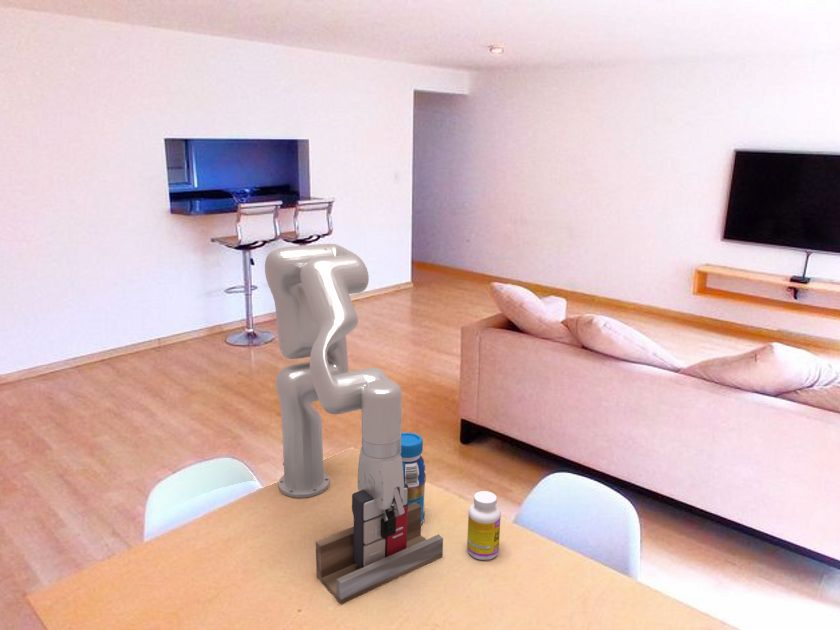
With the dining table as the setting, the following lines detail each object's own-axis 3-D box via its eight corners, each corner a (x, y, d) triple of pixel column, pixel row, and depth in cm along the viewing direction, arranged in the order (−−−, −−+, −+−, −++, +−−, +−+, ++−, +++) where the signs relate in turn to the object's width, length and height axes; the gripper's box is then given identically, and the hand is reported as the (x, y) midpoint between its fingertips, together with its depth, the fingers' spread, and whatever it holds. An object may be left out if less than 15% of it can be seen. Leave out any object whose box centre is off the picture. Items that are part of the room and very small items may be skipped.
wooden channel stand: (316, 577, 124) (315, 541, 122) (415, 534, 138) (415, 502, 136) (341, 604, 117) (340, 566, 115) (442, 556, 131) (443, 522, 129)
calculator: (363, 571, 122) (363, 503, 118) (351, 559, 125) (351, 493, 121) (409, 551, 129) (411, 485, 124) (396, 540, 132) (398, 476, 128)
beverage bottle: (381, 524, 142) (381, 442, 136) (397, 505, 149) (397, 427, 144) (416, 533, 138) (417, 450, 133) (430, 513, 146) (432, 434, 141)
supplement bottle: (497, 563, 129) (500, 507, 125) (464, 559, 130) (467, 503, 127) (499, 544, 135) (502, 490, 132) (469, 540, 136) (471, 486, 133)
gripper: (342, 434, 125) (343, 516, 129) (389, 468, 112) (389, 558, 116) (374, 425, 129) (374, 505, 134) (423, 456, 116) (422, 544, 121)
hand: (381, 529), depth 125 cm, fingers closed on calculator, 3 cm apart
